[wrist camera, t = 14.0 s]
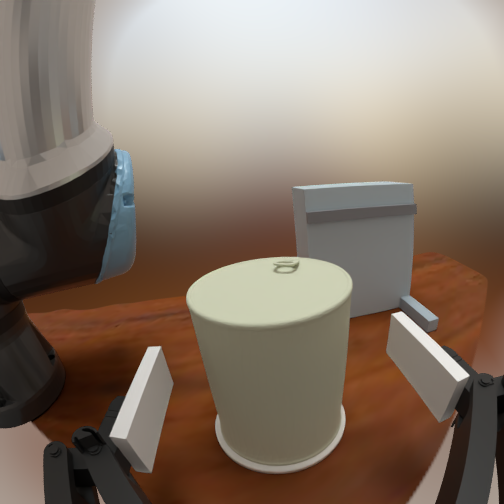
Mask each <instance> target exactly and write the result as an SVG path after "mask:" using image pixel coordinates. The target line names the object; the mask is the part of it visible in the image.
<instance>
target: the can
mask: <svg viewBox="0 0 504 504" xmlns="http://www.w3.org/2000/svg"><path fill="white" fill-rule="evenodd" d="M352 289H353V283H352V279H351V277H350V275H349V274H348V273H347V272H346V271H345V270H344V269H342V268H341V267H339V266H337V265H335V264H332V263H329V262H326V261H322V260H317V259H311V258H301V257H276V258H264V259H256V260H251V261H245V262H241V263H236V264H232V265H229V266H226V267H223V268H220V269H217V270H215V271H213V272H211V273H208V274H206V275H205V276H203V277H201V278H200V279H199V280H197V281H196V282H195V283H194V284H193V285H192V286H191V287H190V288H189V290H188V292H187V296H186V302H187V305H188V308H189V310H190V314H191V317H192V321H193V325H194V329H195V332H196V336H197V340H198V344H199V348H200V352H201V355H202V359H203V363H204V367H205V370H206V374H207V378H208V381H209V385H210V388H211V392H212V395H213V399H214V402H215V406H216V409H217V412H218V416H219V420H220V428H221V433H222V436H223V438H224V440H225V442H226V443H227V445H228V446H229V447H230V448H231V449H232V450H233V451H234V452H235V453H237V454H238V455H239V456H241V457H243V458H245V459H247V460H249V461H252V462H255V463H258V464H263V465H269V466H284V465H291V464H296V463H300V462H303V461H306V460H308V459H310V458H312V457H314V456H316V455H318V454H319V453H321V452H322V451H323V450H325V449H326V448H327V447H328V446H329V445H330V444H331V443H332V441H333V440H334V439H335V437H336V435H337V434H338V431H339V429H340V425H341V418H342V417H341V404H342V395H343V387H344V378H345V369H346V358H347V347H348V335H349V321H350V306H351V293H352Z"/></svg>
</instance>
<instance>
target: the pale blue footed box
mask: <svg viewBox="0 0 504 504" xmlns="http://www.w3.org/2000/svg"><path fill="white" fill-rule="evenodd" d="M292 194H293V206H294V218H295V231H296V243H297V257H301V258H311V259H317V260H322V261H326V262H329V263H332V264H335V265H337V266H339V267H341V268H342V269H344V270H345V271H346V272H347V273H348V274H349V275H350V277H351V279H352V283H353V289H352V293H351V306H350V318H352V317H357V316H362V315H367V314H372V313H376V312H381V311H385V310H390V309H394V308H398V307H400V308H401V309H402V310H403V311H404V312H405V313H406V314H407V315H408V316H410V317H411V318H412V319H413V320H414V321H415V322H416V323H417V324H418V325H419V326H420V327H421V328H423V329H424V330H425V331H426V332H430V331H433V330H436V329H437V324H438V319H439V318H438V317H436V316H435V315H434V314H433V313H431V312H430V311H429V310H428V309H426V308H425V307H424V306H423V305H421V304H420V303H419V302H418V301H416V300H415V299H414V298H412V297H411V296H410V295H409V294H410V285H411V274H412V260H413V239H414V214H417V213H416V212H417V210H416V209H417V208H416V204H414V198H413V197H414V195H413V184H408V183H397V182H362V183H343V184H327V185H312V186H300V187H292Z"/></svg>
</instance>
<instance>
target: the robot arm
mask: <svg viewBox="0 0 504 504" xmlns="http://www.w3.org/2000/svg"><path fill="white" fill-rule="evenodd" d="M94 8H95V0H0V428H12V427H16V426H20V425H23V424H25V423H27V422H29V421H31V420H33V419H35V418H36V417H38V416H39V415H40V414H42V413H43V412H44V411H45V410H46V409H48V408H49V407H50V406H51V404H52V403H53V402H54V401H55V400H56V398H57V397H58V395H59V394H60V392H61V390H62V388H63V385H64V382H65V369H64V366H63V364H62V362H61V360H60V358H59V356H58V354H57V352H56V351H55V349H54V348H53V347H52V346H51V345H50V343H49V342H48V341H47V340H46V339H45V337H44V336H43V335H42V334H41V332H40V331H39V330H38V329H37V327H36V326H35V325H34V323H33V322H32V321H31V319H30V318H29V317H28V315H27V313H26V310H25V307H24V304H23V302H22V300H23V299H28V298H32V297H36V296H41V295H45V294H50V293H54V292H58V291H63V290H68V289H72V288H77V287H81V286H85V285H90V284H98V283H100V282H101V281H102V280H105V279H108V278H111V277H114V276H117V275H121V274H123V273H125V272H127V271H128V270H129V269H130V268H131V266H132V264H133V262H134V259H135V252H136V219H135V205H134V202H133V200H134V181H133V169H132V162H131V158H130V154H129V153H128V152H127V151H124V150H123V151H121V150H120V149H115V150H114V146H113V136H112V134H111V133H110V131H109V130H107V129H106V128H104V127H103V126H101V125H100V124H98V123H97V122H95V121H94V119H93V108H92V87H91V50H92V30H93V17H94ZM386 352H387V354H388V355H389V356H390V358H391V359H392V360H393V361H394V363H395V364H396V365H397V367H398V368H399V369H400V370H401V372H402V373H403V374H404V376H405V377H406V378H407V380H408V381H409V382H410V384H411V385H412V386H413V388H414V389H415V390H416V392H417V393H418V394H419V396H420V397H421V398H422V400H423V401H424V402H425V404H426V405H427V407H428V408H429V409H430V411H431V412H432V413H433V415H434V416H435V418H436V419H437V420H438V422H439V423H440V422H442V421H444V420H446V419H447V418H449V417H451V415H452V413H453V411H454V409H456V410H457V412H458V414H457V416H456V418H455V419H454V421H453V423H452V425H451V427H453V426H454V424H455V428H454V434H453V440H452V445H451V449H450V454H449V459H448V462H447V467H446V470H445V474H444V478H443V481H442V485H441V488H440V491H439V494H438V497H437V500H436V503H435V504H487V503H488V498H489V493H490V488H491V483H492V476H493V469H494V462H495V458H496V466H497V475H498V489H499V504H504V375H503V376H500V377H496V378H493V376H491V375H489V374H486V373H481V374H478V373H477V372H476V371H474V370H473V369H472V368H471V367H470V366H469V365H468V364H467V363H466V362H465V361H464V360H462V358H461V357H460V356H458V354H457V353H456V352H455V351H454V350H452V349H451V348H448V347H446V346H442V347H440V346H439V345H438V344H437V343H436V342H435V341H434V340H433V339H432V338H430V337H429V336H428V335H427V334H426V333H425V332H424V331H423V330H422V329H421V328H420V327H419V326H418V325H416V324H415V323H414V322H413V321H412V320H411V319H410V318H409V317H408V316H407V315H405V314H404V313H403V312H398V313H394V314H391V322H390V330H389V337H388V343H387V349H386ZM172 387H173V380H172V378H171V375H170V372H169V369H168V366H167V363H166V360H165V357H164V354H163V351H162V348H161V346H158V347H148V349H147V351H146V353H145V355H144V357H143V359H142V362H141V364H140V366H139V368H138V370H137V373H136V375H135V377H134V379H133V382H132V384H131V386H130V388H129V391H128V393H127V395H126V396H117V397H116V398H115V399H114V400H113V401H112V402H111V404H110V406H109V408H108V411H107V412H106V414H105V417H104V419H103V421H102V423H101V425H100V428H99V430H98V431H97V430H96V429H95V428H93V427H91V426H84V427H80V428H79V429H77V430H76V431H75V432H74V433H73V435H72V443H73V444H74V445H75V447H76V448H67V447H66V446H65V445H64V444H63V443H62V442H60V441H54V442H51V443H49V444H48V445H47V446H46V447H45V449H44V459H43V461H44V462H43V464H44V465H43V467H44V493H45V504H100V503H99V499H98V493H97V489H98V491H99V493H100V495H101V496H102V498H103V500H104V502H105V503H106V504H152V503H151V502H150V500H149V499H148V498H147V496H146V495H145V493H144V492H143V491H142V489H141V488H140V486H139V485H138V483H137V482H136V480H135V479H134V477H133V476H132V474H131V473H130V472H129V470H130V467H131V466H132V467H133V468H134V469H135V471H138V472H145V473H152V469H153V464H154V460H155V455H156V451H157V447H158V442H159V438H160V434H161V430H162V426H163V422H164V418H165V414H166V410H167V406H168V402H169V398H170V394H171V391H172ZM96 487H97V488H96Z"/></svg>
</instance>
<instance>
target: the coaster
mask: <svg viewBox="0 0 504 504" xmlns="http://www.w3.org/2000/svg"><path fill="white" fill-rule="evenodd" d="M341 417H342V418H341V425H340V429H339V431H338V434H337V435H336V437H335V439H334V440H333V441H332V443H331V444H330V445H329V446H328V447H327V448H326V449H325V450H323V451H322V452H321V453H319V454H318V455H316V456H314V457H312V458H310V459H308V460H306V461H303V462H300V463H296V464H291V465H284V466H269V465H263V464H258V463H255V462H252V461H249V460H247V459H245V458H243V457H241V456H239V455H238V454H237V453H235V452H234V451H233V450H232V449H231V448H230V447H229V446H228V445H227V443H226V442H225V440H224V438H223V436H222V433H221V428H220V420H219V416H218V414H217V417H216V422H215V430H216V435H217V438H218V441H219V444H220V446H221V447H222V449H223V451H224V452H225V453H226V454H227V456H228V457H230V458H231V459H232V460H233V461H234V462H236V463H237V464H239V465H241V466H243V467H245V468H247V469H250V470H253V471H256V472H261V473H266V474H287V473H293V472H297V471H301V470H304V469H307V468H309V467H311V466H314V465H315V464H317V463H319V462H321V461H322V460H323V459H325V458H326V457H327V456H329V455H330V454H331V453H332V451H333V450H334V449H335V448H336V447H337V445H338V444H339V442H340V440H341V438H342V435H343V432H344V428H345V412H344V408H343V406H342V404H341Z"/></svg>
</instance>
